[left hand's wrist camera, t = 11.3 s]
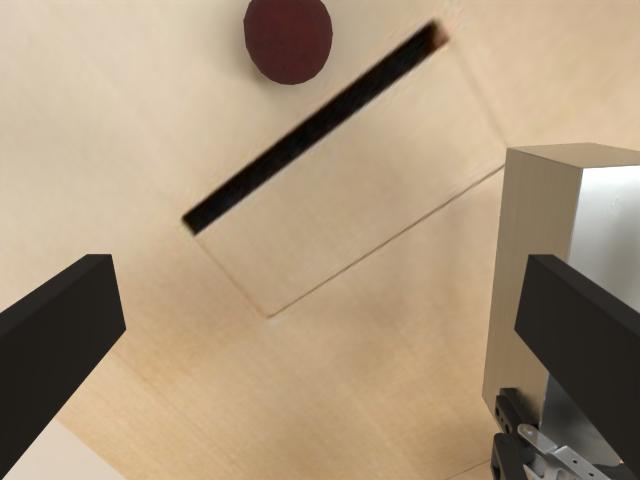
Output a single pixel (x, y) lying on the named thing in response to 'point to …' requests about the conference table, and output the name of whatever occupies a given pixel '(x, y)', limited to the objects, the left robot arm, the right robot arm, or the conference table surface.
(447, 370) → the conference table surface
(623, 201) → the box
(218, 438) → the conference table surface
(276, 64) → the dark red round piece
